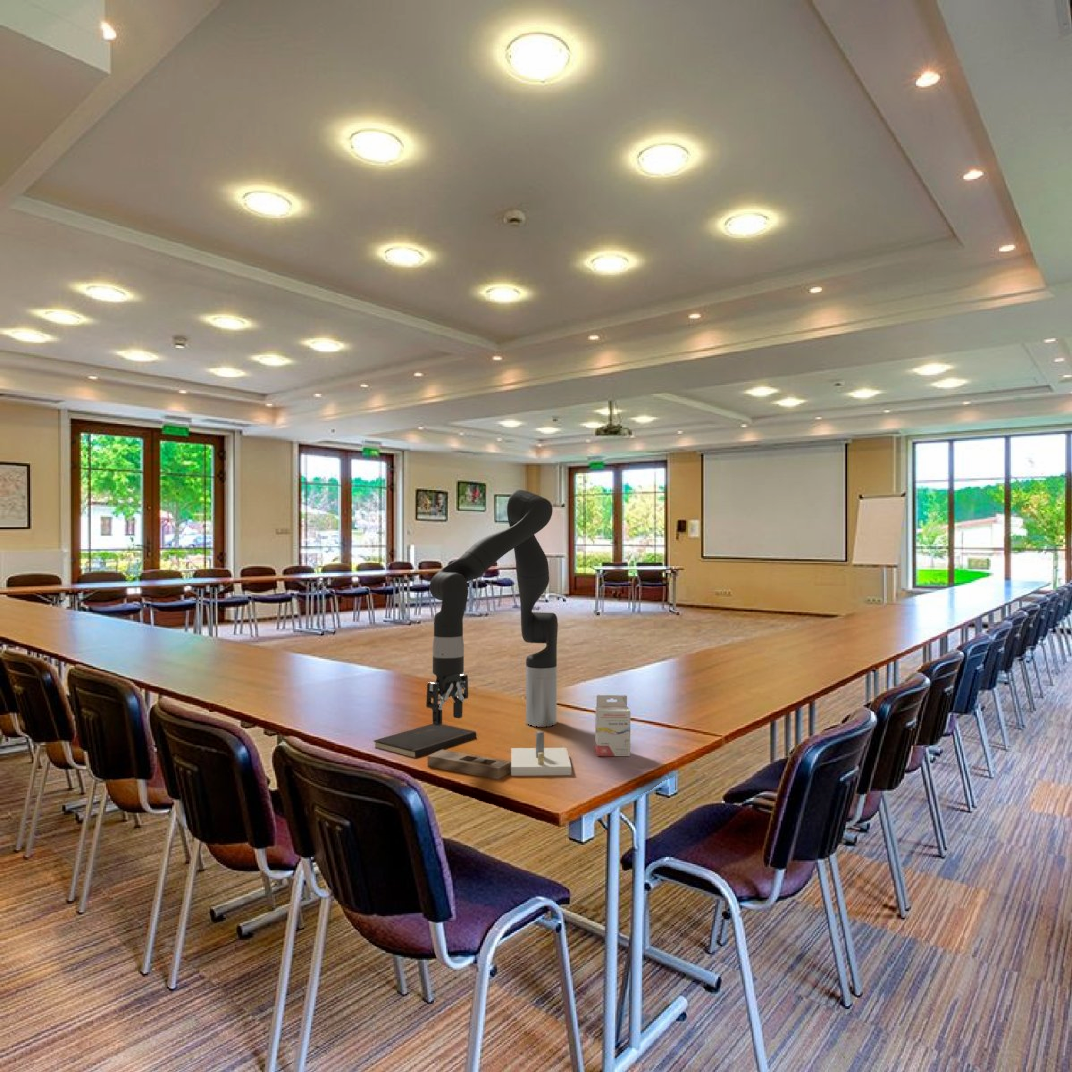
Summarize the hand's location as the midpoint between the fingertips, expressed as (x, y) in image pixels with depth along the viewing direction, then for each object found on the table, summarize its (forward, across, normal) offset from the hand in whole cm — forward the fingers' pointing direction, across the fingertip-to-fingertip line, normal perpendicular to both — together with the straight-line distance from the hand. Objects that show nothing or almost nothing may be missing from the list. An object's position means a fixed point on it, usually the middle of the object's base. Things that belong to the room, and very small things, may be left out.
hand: (447, 721), depth 169 cm
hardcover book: (+11, +14, +17) cm, 24 cm away
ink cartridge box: (+11, +28, -32) cm, 44 cm away
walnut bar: (+11, 0, -6) cm, 12 cm away
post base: (+11, +11, -20) cm, 25 cm away
